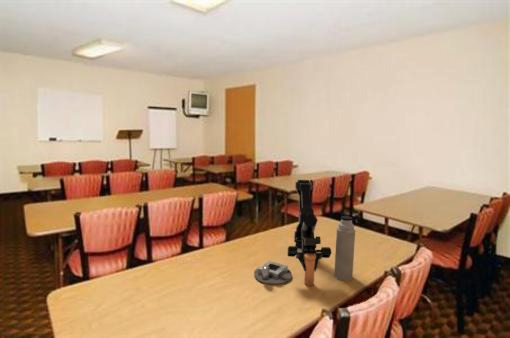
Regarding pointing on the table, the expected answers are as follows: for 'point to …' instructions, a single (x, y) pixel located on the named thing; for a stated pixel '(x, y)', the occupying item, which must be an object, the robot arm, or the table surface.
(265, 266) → the grey peg hole base
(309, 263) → the wooden peg
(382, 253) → the table surface
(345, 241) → the thermos bottle
